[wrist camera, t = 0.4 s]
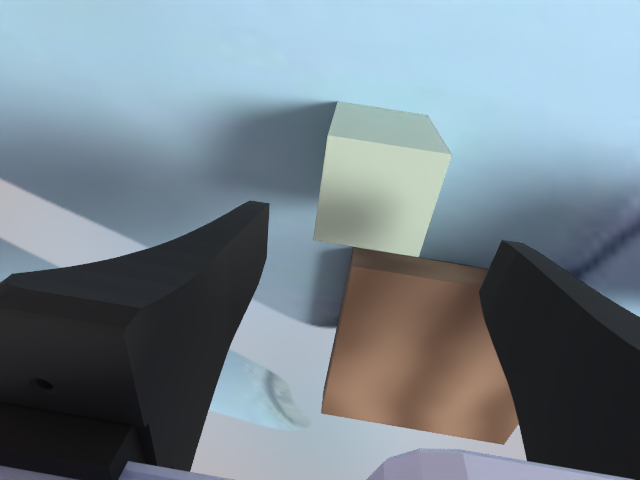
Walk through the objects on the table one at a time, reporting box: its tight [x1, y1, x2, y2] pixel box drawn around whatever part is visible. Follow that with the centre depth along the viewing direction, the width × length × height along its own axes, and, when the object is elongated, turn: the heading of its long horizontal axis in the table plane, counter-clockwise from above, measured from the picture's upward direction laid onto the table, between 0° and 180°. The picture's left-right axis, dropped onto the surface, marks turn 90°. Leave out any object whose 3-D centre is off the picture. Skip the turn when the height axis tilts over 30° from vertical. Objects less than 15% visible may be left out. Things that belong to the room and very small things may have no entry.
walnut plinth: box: [321, 247, 519, 444], centre depth 25 cm, size 14×14×2 cm
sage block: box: [313, 101, 452, 257], centre depth 17 cm, size 4×4×6 cm
